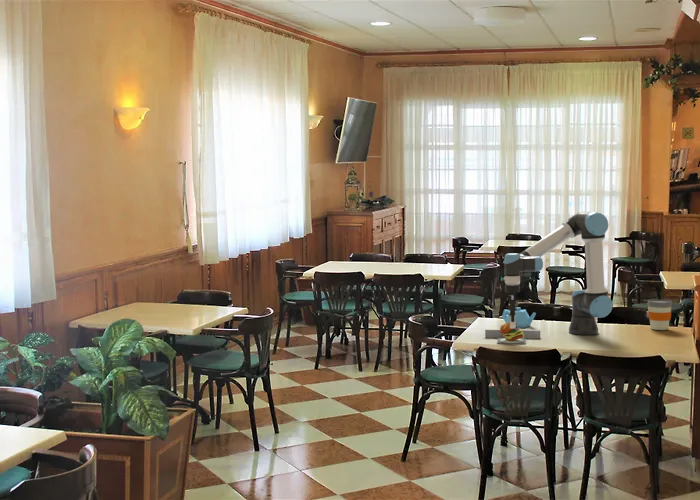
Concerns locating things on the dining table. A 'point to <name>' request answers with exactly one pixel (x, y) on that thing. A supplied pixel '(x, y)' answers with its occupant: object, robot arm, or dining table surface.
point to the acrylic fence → (498, 335)
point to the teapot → (519, 317)
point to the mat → (504, 341)
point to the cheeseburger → (511, 332)
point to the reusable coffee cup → (659, 314)
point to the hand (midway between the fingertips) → (512, 326)
